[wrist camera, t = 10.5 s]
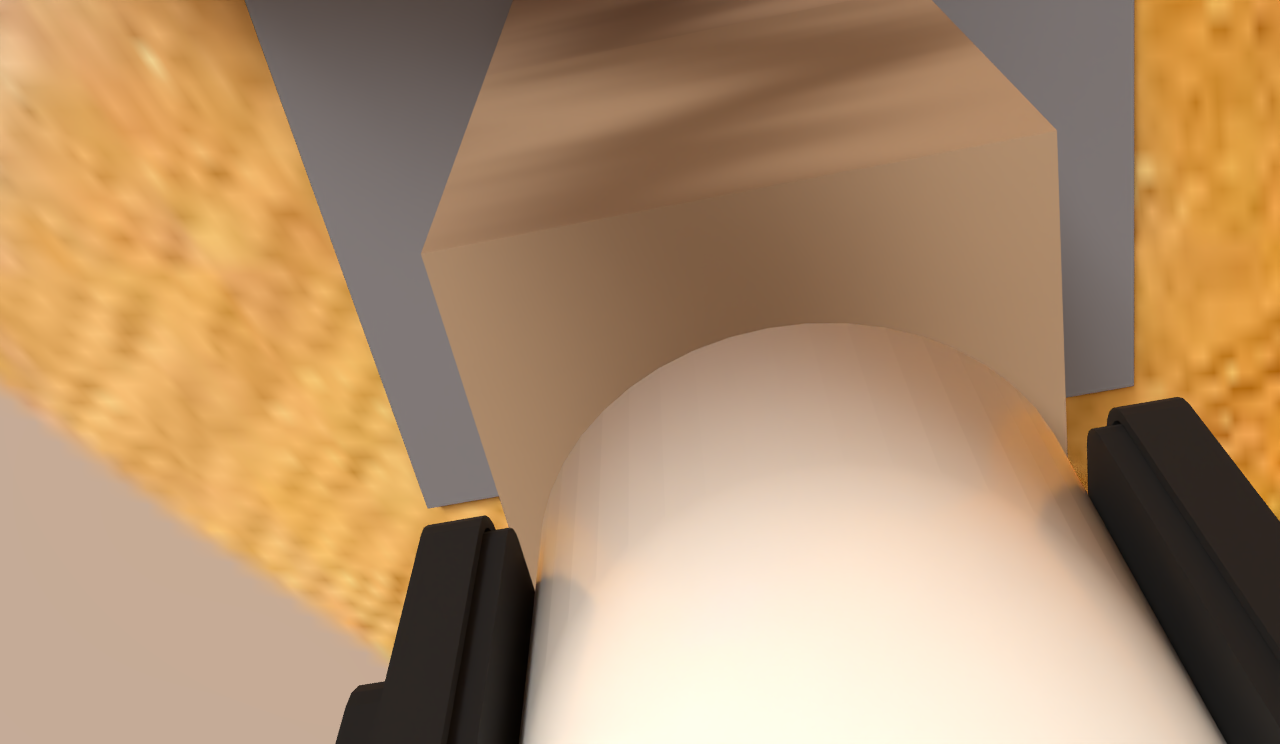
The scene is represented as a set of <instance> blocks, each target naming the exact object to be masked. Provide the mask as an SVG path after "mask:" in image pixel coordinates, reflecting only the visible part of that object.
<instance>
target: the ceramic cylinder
mask: <svg viewBox="0 0 1280 744" xmlns="http://www.w3.org/2000/svg"><path fill="white" fill-rule="evenodd" d="M519 744H1227V743H1226V741H1225V739H1224V738H1223V736H1222V734H1221V732H1220V730H1219V729H1218V727H1217V725H1216V723H1215V721H1214V720H1213V718H1212V716H1211V714H1210V713H1209V711H1208V709H1207V707H1206V705H1205V704H1204V702H1203V700H1202V698H1201V696H1200V695H1199V693H1198V691H1197V689H1196V687H1195V686H1194V684H1193V682H1192V680H1191V678H1190V677H1189V675H1188V673H1187V671H1186V670H1185V668H1184V666H1183V664H1182V662H1181V661H1180V659H1179V657H1178V655H1177V653H1176V652H1175V650H1174V648H1173V646H1172V644H1171V643H1170V641H1169V639H1168V637H1167V635H1166V634H1165V632H1164V630H1163V628H1162V627H1161V625H1160V623H1159V621H1158V619H1157V618H1156V616H1155V614H1154V612H1153V610H1152V609H1151V607H1150V605H1149V603H1148V601H1147V600H1146V598H1145V596H1144V594H1143V592H1142V591H1141V589H1140V587H1139V585H1138V584H1137V582H1136V580H1135V578H1134V576H1133V575H1132V573H1131V571H1130V569H1129V567H1128V566H1127V564H1126V562H1125V560H1124V558H1123V557H1122V555H1121V553H1120V551H1119V549H1118V548H1117V546H1116V544H1115V542H1114V541H1113V539H1112V537H1111V535H1110V533H1109V532H1108V530H1107V528H1106V526H1105V524H1104V523H1103V521H1102V519H1101V517H1100V515H1099V514H1098V512H1097V510H1096V508H1095V506H1094V505H1093V503H1092V501H1091V499H1090V498H1089V496H1088V494H1087V492H1086V490H1085V489H1084V487H1083V485H1082V483H1081V481H1080V480H1079V478H1078V476H1077V474H1076V472H1075V471H1074V469H1073V467H1072V465H1071V463H1070V462H1069V460H1068V458H1067V456H1066V455H1065V453H1064V451H1063V449H1062V447H1061V446H1060V444H1059V442H1058V440H1057V438H1056V437H1055V435H1054V433H1053V432H1052V430H1051V429H1050V427H1049V426H1048V425H1047V423H1046V422H1045V421H1044V419H1043V418H1042V416H1041V415H1040V414H1039V412H1038V411H1037V409H1036V408H1035V407H1034V406H1033V405H1032V404H1031V403H1030V402H1029V401H1028V400H1027V399H1026V398H1025V397H1024V396H1023V395H1022V394H1021V393H1020V392H1019V391H1018V390H1017V389H1016V388H1015V387H1014V386H1013V385H1012V384H1010V383H1009V382H1008V381H1006V380H1005V379H1004V378H1002V377H1001V376H1000V375H998V374H997V373H995V372H994V371H993V370H991V369H990V368H989V367H987V366H986V365H984V364H982V363H980V362H979V361H977V360H975V359H973V358H971V357H969V356H967V355H966V354H964V353H962V352H960V351H958V350H956V349H954V348H951V347H949V346H946V345H943V344H941V343H938V342H935V341H933V340H930V339H927V338H925V337H922V336H918V335H914V334H910V333H906V332H902V331H897V330H893V329H889V328H885V327H876V326H867V325H858V324H849V323H806V324H798V325H790V326H782V327H773V328H766V329H762V330H758V331H754V332H750V333H746V334H741V335H737V336H733V337H729V338H726V339H724V340H721V341H718V342H716V343H713V344H710V345H707V346H705V347H702V348H699V349H696V350H694V351H692V352H690V353H688V354H686V355H684V356H682V357H680V358H678V359H676V360H674V361H672V362H670V363H668V364H666V365H664V366H662V367H660V368H658V369H657V370H655V371H654V372H652V373H651V374H649V375H648V376H646V377H645V378H644V379H642V380H641V381H639V382H638V383H636V384H635V385H633V386H632V387H630V388H629V389H628V390H626V391H625V392H624V393H623V394H622V395H621V396H620V397H618V398H617V399H616V400H615V401H614V402H613V403H612V404H610V405H609V406H608V407H607V408H606V409H605V410H604V411H603V412H602V413H601V414H600V415H599V416H598V417H597V418H596V420H595V421H594V422H593V423H592V424H591V425H590V426H589V428H588V429H587V430H586V431H585V432H584V433H583V434H582V436H581V437H580V438H579V440H578V441H577V443H576V445H575V446H574V448H573V449H572V451H571V452H570V454H569V455H568V457H567V458H566V460H565V461H564V463H563V465H562V467H561V469H560V472H559V474H558V476H557V478H556V480H555V483H554V485H553V487H552V489H551V492H550V495H549V499H548V503H547V506H546V510H545V513H544V517H543V523H542V532H541V541H540V551H539V560H538V569H537V579H536V588H535V597H534V607H533V616H532V625H531V635H530V644H529V653H528V663H527V672H526V681H525V691H524V700H523V709H522V719H521V728H520V737H519Z"/></svg>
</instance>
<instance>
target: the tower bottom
mask: <svg viewBox="0 0 1280 744" xmlns="http://www.w3.org/2000/svg"><path fill="white" fill-rule="evenodd" d="M845 1H850V0H513V2H512V4H511V7H510V10H509V13H508V15H507V18H506V21H505V24H504V26H503V29H502V32H501V35H500V37H499V40H498V43H497V46H496V48H495V51H494V54H493V57H492V59H491V62H490V65H489V68H488V70H487V73H486V76H488V75H493V74H497V73H502V72H507V71H512V70H517V69H521V68H526V67H531V66H536V65H541V64H546V63H550V62H555V61H560V60H565V59H570V58H575V57H579V56H584V55H589V54H594V53H599V52H603V51H608V50H613V49H618V48H623V47H628V46H632V45H637V44H642V43H647V42H652V41H657V40H661V39H666V38H671V37H676V36H681V35H686V34H690V33H695V32H700V31H705V30H710V29H714V28H719V27H724V26H729V25H734V24H739V23H743V22H748V21H753V20H758V19H763V18H768V17H772V16H777V15H782V14H787V13H792V12H797V11H801V10H806V9H811V8H816V7H821V6H825V5H830V4H835V3H840V2H845Z"/></svg>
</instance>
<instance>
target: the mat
mask: <svg viewBox="0 0 1280 744" xmlns="http://www.w3.org/2000/svg"><path fill="white" fill-rule="evenodd" d="M932 1H933V2H934V3H935V4H936V5H937V6H938V7H939V8H940V9H941V10H942V11H943V12H944V13H945V14H946V15H947V16H948V18H949V19H950V20H951V21H952V22H953V23H954V24H955V25H956V26H957V27H958V28H959V29H960V30H961V31H962V32H963V33H964V34H965V35H966V36H967V37H968V38H969V39H970V40H971V41H972V42H973V44H974V45H975V46H976V47H977V48H978V49H979V50H980V51H981V52H982V53H983V54H984V55H985V56H986V57H987V58H988V59H989V60H990V61H991V62H992V63H993V64H994V65H995V66H996V67H997V68H998V70H999V71H1000V72H1001V73H1002V74H1003V75H1004V76H1005V77H1006V78H1007V79H1008V80H1009V81H1010V82H1011V83H1012V84H1013V85H1014V86H1015V87H1016V88H1017V89H1018V90H1019V91H1020V92H1021V93H1022V94H1023V96H1024V97H1025V98H1026V99H1027V100H1028V101H1029V102H1030V103H1031V104H1032V105H1033V106H1034V107H1035V108H1036V109H1037V110H1038V111H1039V112H1040V113H1041V114H1042V115H1043V116H1044V117H1045V118H1046V119H1047V120H1048V122H1049V123H1050V124H1051V125H1052V126H1053V127H1054V128H1055V129H1056V130H1057V148H1058V179H1059V209H1060V240H1061V271H1062V301H1063V332H1064V363H1065V394H1066V398H1067V397H1072V396H1078V395H1084V394H1090V393H1095V392H1101V391H1107V390H1113V389H1118V388H1124V387H1130V386H1134V0H932ZM512 2H513V0H245V3H246V6H247V8H248V11H249V14H250V17H251V20H252V22H253V25H254V28H255V31H256V33H257V36H258V39H259V42H260V45H261V47H262V50H263V53H264V56H265V58H266V61H267V64H268V67H269V70H270V72H271V75H272V78H273V81H274V83H275V86H276V89H277V92H278V94H279V97H280V100H281V103H282V106H283V108H284V111H285V114H286V117H287V119H288V122H289V125H290V128H291V131H292V133H293V136H294V139H295V142H296V144H297V147H298V150H299V153H300V156H301V158H302V161H303V164H304V167H305V169H306V172H307V175H308V178H309V180H310V183H311V186H312V189H313V192H314V194H315V197H316V200H317V203H318V205H319V208H320V211H321V214H322V217H323V219H324V222H325V225H326V228H327V230H328V233H329V236H330V239H331V241H332V244H333V247H334V250H335V253H336V255H337V258H338V261H339V264H340V266H341V269H342V272H343V275H344V278H345V280H346V283H347V286H348V289H349V291H350V294H351V297H352V300H353V303H354V305H355V308H356V311H357V314H358V316H359V319H360V322H361V325H362V327H363V330H364V333H365V336H366V339H367V341H368V344H369V347H370V350H371V352H372V355H373V358H374V361H375V364H376V366H377V369H378V372H379V375H380V377H381V380H382V383H383V386H384V388H385V391H386V394H387V397H388V400H389V402H390V405H391V408H392V411H393V413H394V416H395V419H396V422H397V425H398V427H399V430H400V433H401V436H402V438H403V441H404V444H405V447H406V450H407V452H408V455H409V458H410V461H411V463H412V466H413V469H414V472H415V474H416V477H417V480H418V483H419V486H420V488H421V491H422V494H423V497H424V499H425V502H426V505H427V508H434V507H440V506H445V505H451V504H457V503H463V502H468V501H474V500H480V499H486V498H491V497H497V496H499V495H498V492H497V489H496V486H495V482H494V479H493V476H492V473H491V470H490V467H489V464H488V461H487V458H486V455H485V451H484V448H483V445H482V442H481V439H480V436H479V433H478V430H477V427H476V423H475V420H474V417H473V414H472V411H471V408H470V405H469V402H468V399H467V396H466V392H465V389H464V386H463V383H462V380H461V377H460V374H459V371H458V368H457V365H456V361H455V358H454V355H453V352H452V349H451V346H450V343H449V340H448V337H447V333H446V330H445V327H444V324H443V321H442V318H441V315H440V312H439V309H438V306H437V302H436V299H435V296H434V293H433V290H432V287H431V284H430V281H429V278H428V274H427V271H426V268H425V265H424V262H423V259H422V256H421V252H422V249H423V246H424V244H425V241H426V238H427V235H428V233H429V230H430V227H431V224H432V222H433V219H434V216H435V213H436V211H437V208H438V205H439V202H440V200H441V197H442V194H443V191H444V189H445V186H446V183H447V180H448V178H449V175H450V172H451V169H452V167H453V164H454V161H455V158H456V156H457V153H458V150H459V147H460V145H461V142H462V139H463V136H464V134H465V131H466V128H467V125H468V123H469V120H470V117H471V114H472V112H473V109H474V106H475V103H476V101H477V98H478V95H479V92H480V90H481V87H482V84H483V81H484V79H485V76H486V73H487V70H488V68H489V65H490V62H491V59H492V57H493V54H494V51H495V48H496V46H497V43H498V40H499V37H500V35H501V32H502V29H503V26H504V24H505V21H506V18H507V15H508V13H509V10H510V7H511V4H512Z"/></svg>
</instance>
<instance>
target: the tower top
mask: <svg viewBox="0 0 1280 744" xmlns="http://www.w3.org/2000/svg"><path fill="white" fill-rule="evenodd" d="M421 256H422V259H423V262H424V265H425V268H426V271H427V274H428V278H429V281H430V284H431V287H432V290H433V293H434V296H435V299H436V302H437V306H438V309H439V312H440V315H441V318H442V321H443V324H444V327H445V330H446V333H447V337H448V340H449V343H450V346H451V349H452V352H453V355H454V358H455V361H456V365H457V368H458V371H459V374H460V377H461V380H462V383H463V386H464V389H465V392H466V396H467V399H468V402H469V405H470V408H471V411H472V414H473V417H474V420H475V423H476V427H477V430H478V433H479V436H480V439H481V442H482V445H483V448H484V451H485V455H486V458H487V461H488V464H489V467H490V470H491V473H492V476H493V479H494V482H495V486H496V489H497V492H498V495H499V498H500V501H501V504H502V507H503V510H504V514H505V517H506V520H507V523H508V526H509V528H513V529H514V531H515V532H516V534H517V537H518V539H519V542H520V545H521V548H522V552H523V555H524V558H525V561H526V564H527V567H528V570H529V574H530V577H531V580H532V583H533V586H534V589H535V588H536V579H537V569H538V560H539V551H540V541H541V532H542V523H543V517H544V513H545V510H546V506H547V503H548V499H549V495H550V492H551V489H552V487H553V485H554V483H555V480H556V478H557V476H558V474H559V472H560V469H561V467H562V465H563V463H564V461H565V460H566V458H567V457H568V455H569V454H570V452H571V451H572V449H573V448H574V446H575V445H576V443H577V441H578V440H579V438H580V437H581V436H582V434H583V433H584V432H585V431H586V430H587V429H588V428H589V426H590V425H591V424H592V423H593V422H594V421H595V420H596V418H597V417H598V416H599V415H600V414H601V413H602V412H603V411H604V410H605V409H606V408H607V407H608V406H609V405H610V404H612V403H613V402H614V401H615V400H616V399H617V398H618V397H620V396H621V395H622V394H623V393H624V392H625V391H626V390H628V389H629V388H630V387H632V386H633V385H635V384H636V383H638V382H639V381H641V380H642V379H644V378H645V377H646V376H648V375H649V374H651V373H652V372H654V371H655V370H657V369H658V368H660V367H662V366H664V365H666V364H668V363H670V362H672V361H674V360H676V359H678V358H680V357H682V356H684V355H686V354H688V353H690V352H692V351H694V350H696V349H699V348H702V347H705V346H707V345H710V344H713V343H716V342H718V341H721V340H724V339H726V338H729V337H733V336H737V335H741V334H746V333H750V332H754V331H758V330H762V329H766V328H773V327H782V326H790V325H798V324H806V323H849V324H858V325H867V326H876V327H885V328H889V329H893V330H897V331H902V332H906V333H910V334H914V335H918V336H922V337H925V338H927V339H930V340H933V341H935V342H938V343H941V344H943V345H946V346H949V347H951V348H954V349H956V350H958V351H960V352H962V353H964V354H966V355H967V356H969V357H971V358H973V359H975V360H977V361H979V362H980V363H982V364H984V365H986V366H987V367H989V368H990V369H991V370H993V371H994V372H995V373H997V374H998V375H1000V376H1001V377H1002V378H1004V379H1005V380H1006V381H1008V382H1009V383H1010V384H1012V385H1013V386H1014V387H1015V388H1016V389H1017V390H1018V391H1019V392H1020V393H1021V394H1022V395H1023V396H1024V397H1025V398H1026V399H1027V400H1028V401H1029V402H1030V403H1031V404H1032V405H1033V406H1034V407H1035V408H1036V409H1037V411H1038V412H1039V414H1040V415H1041V416H1042V418H1043V419H1044V421H1045V422H1046V423H1047V425H1048V426H1049V427H1050V429H1051V430H1052V432H1053V433H1054V435H1055V437H1056V438H1057V440H1058V442H1059V444H1060V446H1061V447H1062V449H1063V451H1064V453H1065V455H1066V456H1067V458H1068V455H1067V424H1066V394H1065V363H1064V332H1063V301H1062V271H1061V240H1060V209H1059V179H1058V148H1057V130H1056V129H1055V128H1054V127H1053V126H1052V125H1051V124H1050V123H1049V122H1048V120H1047V119H1046V118H1045V117H1044V116H1043V115H1042V114H1041V113H1040V112H1039V111H1038V110H1037V109H1036V108H1035V107H1034V106H1033V105H1032V104H1031V103H1030V102H1029V101H1028V100H1027V99H1026V98H1025V97H1024V96H1023V94H1022V93H1021V92H1020V91H1019V90H1018V89H1017V88H1016V87H1015V86H1014V85H1013V84H1012V83H1011V82H1010V81H1009V80H1008V79H1007V78H1006V77H1005V76H1004V75H1003V74H1002V73H1001V72H1000V71H999V70H998V68H997V67H996V66H995V65H994V64H993V63H992V62H991V61H990V60H989V59H988V58H987V57H986V56H985V55H984V54H983V53H982V52H981V51H980V50H979V49H978V48H977V47H976V46H975V45H974V44H973V42H972V41H971V40H970V39H969V38H968V37H967V36H966V35H965V34H964V33H963V32H962V31H961V30H960V29H959V28H958V27H957V26H956V25H955V24H954V23H953V22H952V21H951V20H950V19H949V18H948V16H947V15H946V14H945V13H944V12H943V11H942V10H941V9H940V8H939V7H938V6H937V5H936V4H935V3H934V2H933V1H932V0H850V1H845V2H840V3H835V4H830V5H825V6H821V7H816V8H811V9H806V10H801V11H797V12H792V13H787V14H782V15H777V16H772V17H768V18H763V19H758V20H753V21H748V22H743V23H739V24H734V25H729V26H724V27H719V28H714V29H710V30H705V31H700V32H695V33H690V34H686V35H681V36H676V37H671V38H666V39H661V40H657V41H652V42H647V43H642V44H637V45H632V46H628V47H623V48H618V49H613V50H608V51H603V52H599V53H594V54H589V55H584V56H579V57H575V58H570V59H565V60H560V61H555V62H550V63H546V64H541V65H536V66H531V67H526V68H521V69H517V70H512V71H507V72H502V73H497V74H493V75H488V76H485V79H484V81H483V84H482V87H481V90H480V92H479V95H478V98H477V101H476V103H475V106H474V109H473V112H472V114H471V117H470V120H469V123H468V125H467V128H466V131H465V134H464V136H463V139H462V142H461V145H460V147H459V150H458V153H457V156H456V158H455V161H454V164H453V167H452V169H451V172H450V175H449V178H448V180H447V183H446V186H445V189H444V191H443V194H442V197H441V200H440V202H439V205H438V208H437V211H436V213H435V216H434V219H433V222H432V224H431V227H430V230H429V233H428V235H427V238H426V241H425V244H424V246H423V249H422V252H421Z"/></svg>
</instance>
